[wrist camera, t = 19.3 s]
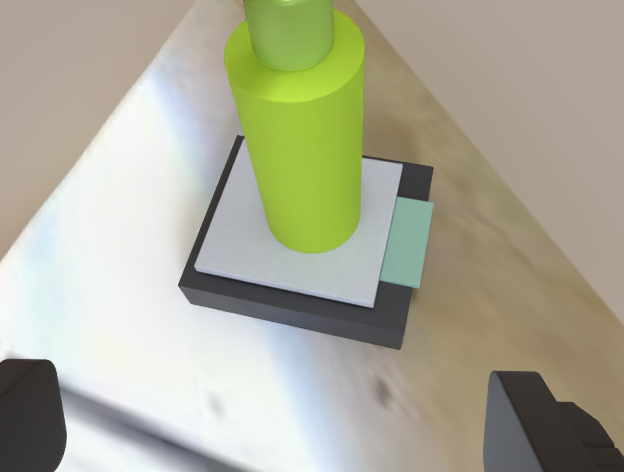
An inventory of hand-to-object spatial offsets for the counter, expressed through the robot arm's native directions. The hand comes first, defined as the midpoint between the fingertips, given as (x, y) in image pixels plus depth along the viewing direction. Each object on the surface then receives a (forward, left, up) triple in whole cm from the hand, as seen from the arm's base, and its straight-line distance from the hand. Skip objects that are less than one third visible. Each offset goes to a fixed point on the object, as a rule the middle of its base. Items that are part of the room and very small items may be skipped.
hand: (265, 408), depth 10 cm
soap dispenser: (+4, -15, -19) cm, 24 cm away
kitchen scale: (+4, -15, -23) cm, 28 cm away
